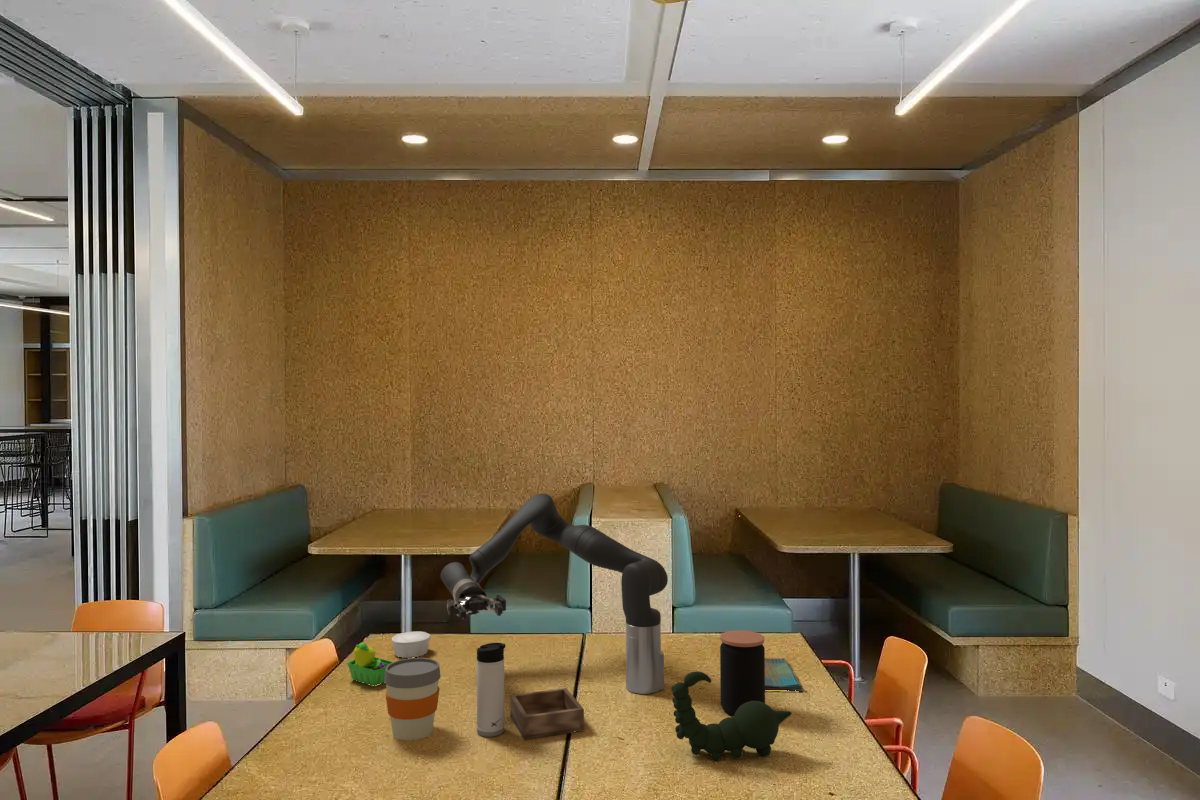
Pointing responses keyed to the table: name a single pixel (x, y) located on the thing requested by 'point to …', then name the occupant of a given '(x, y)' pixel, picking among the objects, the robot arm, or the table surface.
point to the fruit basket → (367, 665)
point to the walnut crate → (546, 713)
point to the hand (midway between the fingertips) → (482, 613)
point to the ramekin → (411, 644)
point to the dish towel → (780, 676)
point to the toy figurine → (725, 724)
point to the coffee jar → (741, 669)
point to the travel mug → (490, 689)
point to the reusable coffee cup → (412, 696)
